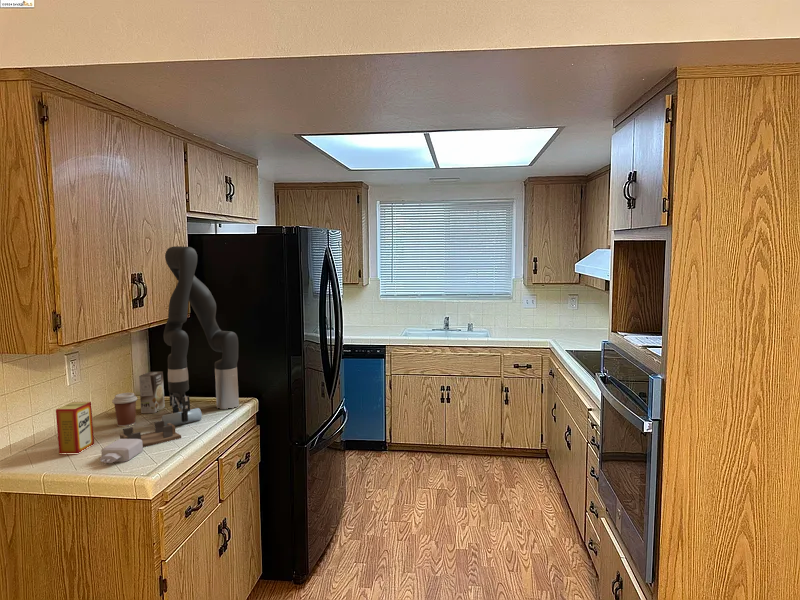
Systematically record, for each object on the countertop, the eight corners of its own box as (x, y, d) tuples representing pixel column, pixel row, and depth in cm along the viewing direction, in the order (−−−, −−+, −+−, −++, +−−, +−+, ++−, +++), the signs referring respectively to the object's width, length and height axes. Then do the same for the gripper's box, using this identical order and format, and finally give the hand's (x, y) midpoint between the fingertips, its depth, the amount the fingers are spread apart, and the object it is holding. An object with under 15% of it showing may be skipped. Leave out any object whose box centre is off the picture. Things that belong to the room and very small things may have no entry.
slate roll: (165, 430, 222) (167, 421, 219) (160, 421, 224) (162, 412, 222) (200, 422, 231) (202, 414, 229) (195, 414, 234) (197, 405, 231)
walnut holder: (115, 443, 205) (114, 429, 204) (168, 430, 217) (167, 418, 217) (126, 451, 196) (125, 437, 195) (181, 438, 209) (180, 424, 208)
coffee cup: (141, 420, 233) (139, 391, 231) (136, 426, 224) (134, 396, 223) (116, 422, 230) (114, 392, 229) (111, 428, 222) (109, 398, 220)
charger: (90, 469, 181) (117, 452, 196) (118, 469, 181) (143, 452, 195) (89, 454, 181) (116, 438, 196) (117, 454, 180) (142, 438, 195)
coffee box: (155, 413, 242) (153, 375, 241) (140, 413, 242) (138, 376, 241) (165, 407, 251) (163, 371, 250) (151, 407, 251) (148, 371, 250)
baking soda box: (77, 454, 194) (74, 408, 193) (59, 454, 194) (55, 408, 193) (94, 444, 204) (90, 400, 202) (76, 444, 204) (73, 400, 202)
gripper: (195, 380, 223) (197, 421, 225) (180, 375, 234) (182, 414, 235) (176, 383, 218) (178, 425, 220) (161, 378, 229) (164, 417, 230)
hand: (180, 419), depth 227 cm, fingers open, 8 cm apart
